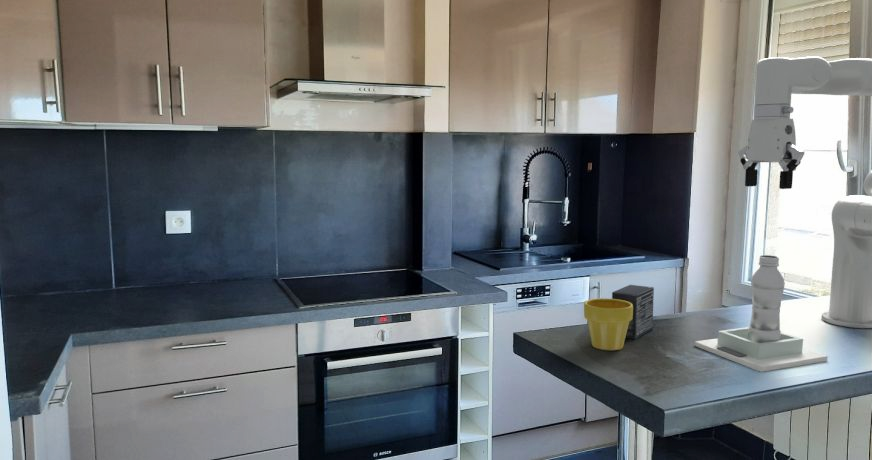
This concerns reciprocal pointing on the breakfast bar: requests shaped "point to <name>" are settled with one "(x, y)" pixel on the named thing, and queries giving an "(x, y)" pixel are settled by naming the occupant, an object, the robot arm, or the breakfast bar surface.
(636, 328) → the small box
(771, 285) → the metal bottle
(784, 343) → the charging dock
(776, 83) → the robot arm
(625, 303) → the plant pot
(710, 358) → the breakfast bar surface
